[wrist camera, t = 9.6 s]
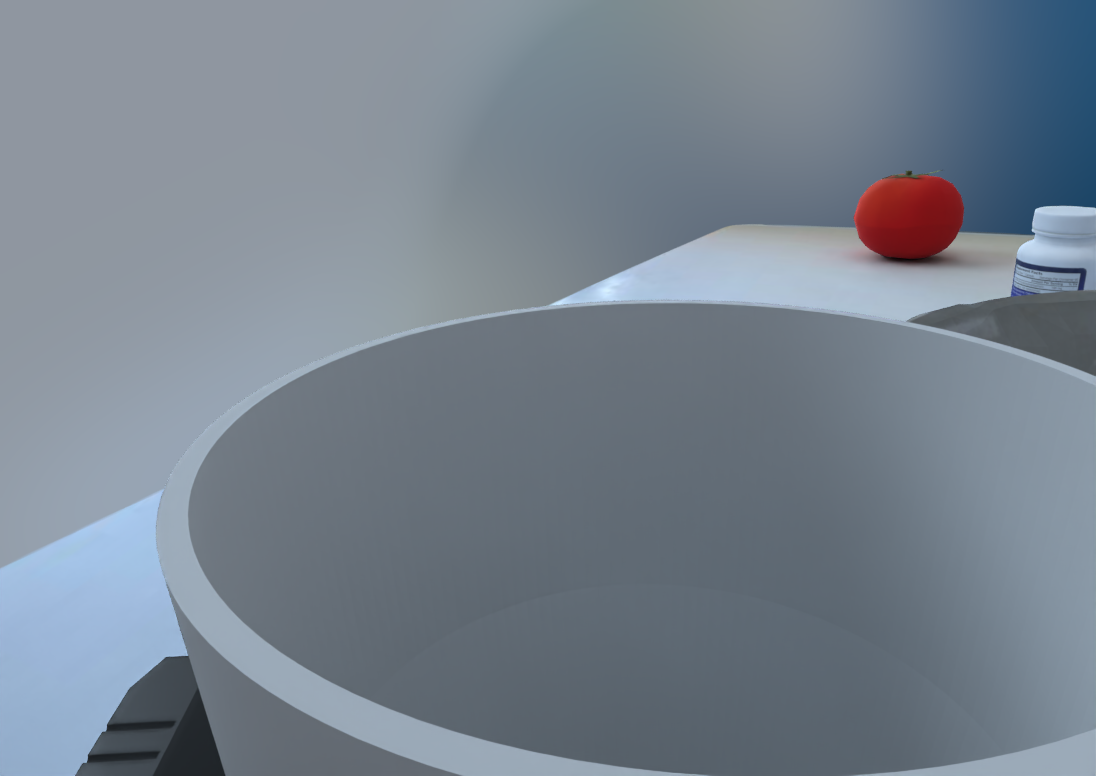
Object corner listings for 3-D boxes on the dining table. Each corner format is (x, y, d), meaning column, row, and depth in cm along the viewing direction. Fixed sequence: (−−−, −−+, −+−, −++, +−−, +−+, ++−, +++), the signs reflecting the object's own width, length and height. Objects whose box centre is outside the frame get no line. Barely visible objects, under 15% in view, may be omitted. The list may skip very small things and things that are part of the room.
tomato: (977, 257, 81) (990, 170, 78) (904, 271, 77) (915, 179, 74) (899, 243, 89) (909, 163, 86) (829, 255, 84) (836, 171, 81)
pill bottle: (1044, 327, 59) (1067, 202, 56) (1112, 347, 54) (1141, 212, 51) (985, 336, 57) (1005, 208, 54) (1050, 358, 53) (1076, 219, 50)
